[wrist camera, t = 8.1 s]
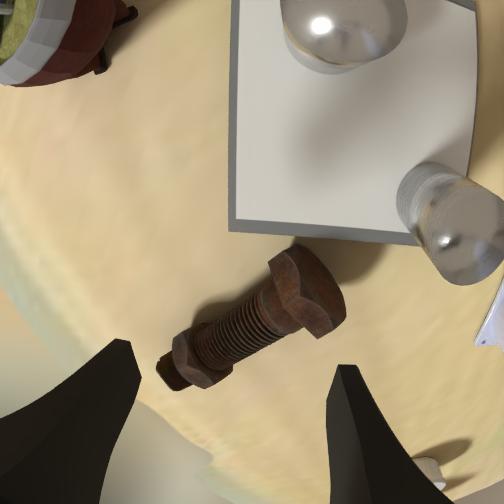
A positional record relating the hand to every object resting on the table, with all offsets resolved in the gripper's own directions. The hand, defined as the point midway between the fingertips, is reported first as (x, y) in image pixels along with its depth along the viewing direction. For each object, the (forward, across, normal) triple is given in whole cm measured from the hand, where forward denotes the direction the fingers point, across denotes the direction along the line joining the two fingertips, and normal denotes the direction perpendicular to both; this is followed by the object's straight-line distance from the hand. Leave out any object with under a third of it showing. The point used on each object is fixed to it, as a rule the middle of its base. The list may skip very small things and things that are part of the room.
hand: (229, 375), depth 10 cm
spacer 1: (+8, -3, -12) cm, 15 cm away
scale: (+10, -5, -10) cm, 15 cm away
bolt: (+11, +2, +6) cm, 13 cm away
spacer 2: (+8, -9, -4) cm, 13 cm away
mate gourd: (+11, +11, -14) cm, 21 cm away
